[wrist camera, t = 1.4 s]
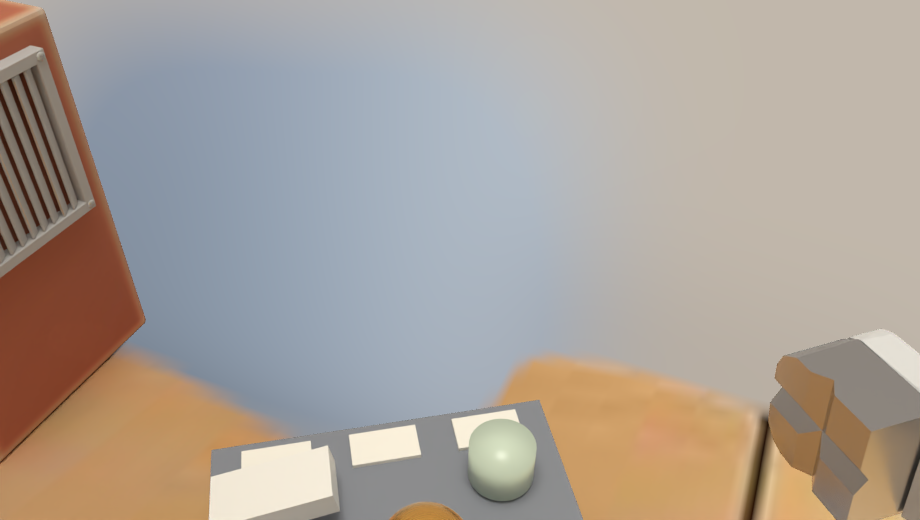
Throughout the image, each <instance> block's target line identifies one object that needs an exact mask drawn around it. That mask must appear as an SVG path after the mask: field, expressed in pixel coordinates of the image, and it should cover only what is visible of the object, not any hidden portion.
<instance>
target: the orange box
mask: <svg viewBox="0 0 920 520" xmlns="http://www.w3.org/2000/svg"><path fill="white" fill-rule="evenodd" d="M145 320H146V319H145V316H144V313H143V310H142V307H141V304H140V301H139V298H138V295H137V292H136V289H135V286H134V283H133V280H132V277H131V273H130V270H129V267H128V264H127V261H126V258H125V255H124V252H123V249H122V246H121V243H120V240H119V237H118V234H117V231H116V228H115V225H114V222H113V218H112V215H111V212H110V210H109V206H108V203H107V200H106V197H105V194H104V191H103V188H102V185H101V182H100V179H99V176H98V173H97V170H96V167H95V163H94V160H93V158H92V155H91V151H90V149H89V145H88V142H87V139H86V136H85V133H84V130H83V127H82V124H81V121H80V118H79V115H78V112H77V108H76V105H75V102H74V99H73V96H72V93H71V90H70V87H69V84H68V81H67V78H66V75H65V72H64V69H63V66H62V63H61V60H60V57H59V53H58V50H57V47H56V44H55V42H54V38H53V35H52V32H51V29H50V26H49V23H48V20H47V17H46V14H45V11H44V10H43V9H42V8H40V7H35V6H31V5H26V4H21V3H16V2H11V1H6V0H0V462H1V461H2V460H3V459H4V458H5V457H6V456H7V455H8V454H9V453H10V452H11V451H12V450H13V449H14V448H15V447H16V446H17V445H18V444H19V443H20V442H21V441H23V440H24V439H25V438H26V437H27V436H28V435H29V434H30V433H31V432H32V431H33V430H34V429H35V428H36V427H37V426H38V425H39V424H40V423H41V422H42V421H43V420H44V419H45V418H46V417H47V416H48V415H50V414H51V413H52V412H53V411H54V410H55V409H56V408H57V407H58V406H59V405H60V404H61V403H62V402H63V401H64V400H65V399H66V398H67V397H68V396H69V395H70V394H71V393H72V392H73V391H74V390H75V389H77V388H78V387H79V386H80V385H81V384H82V383H83V382H84V381H85V380H86V379H87V378H88V377H89V376H90V375H91V374H92V373H93V372H94V371H95V370H96V369H97V368H98V367H99V366H100V365H101V364H102V363H104V362H105V361H106V360H107V359H108V358H109V357H110V356H111V355H112V354H113V353H114V352H115V351H116V350H117V349H118V348H119V347H120V346H121V345H122V344H123V343H124V342H125V341H126V340H127V339H128V338H129V337H131V336H132V335H133V334H134V333H135V332H136V331H137V330H138V329H139V328H140V327H141V326H142V325H143V324H144V323H145Z"/></svg>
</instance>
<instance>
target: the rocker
mask: <svg viewBox="0 0 920 520" xmlns="http://www.w3.org/2000/svg"><path fill="white" fill-rule="evenodd" d="M339 511H340V506H339V496H338V486H337V476H336V466H335V460H334V458H333V456H332V453H331V451H330V449H329V447H328V445H327V446H323V447H319V448H316V449H312V450H308V451H305V452H301V453H297V454H294V455H290V456H286V457H282V458H279V459H275V460H271V461H268V462H264V463H260V464H256V465H253V466H249V467H245V468H242V469H238V470H234V471H231V472H227V473H223V474H219V475H216V476H212V477H211V482H210V506H209V520H310V519H314V518H317V517H321V516H325V515H328V514H332V513H336V512H339Z"/></svg>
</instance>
